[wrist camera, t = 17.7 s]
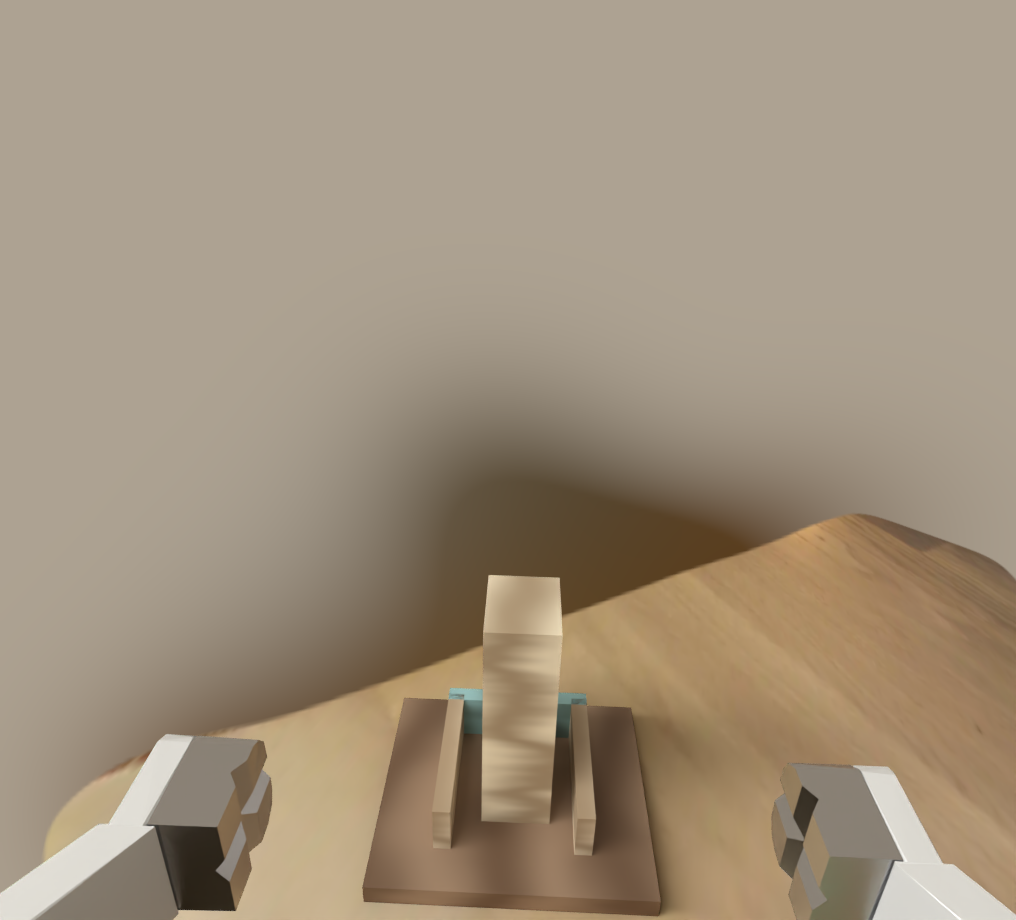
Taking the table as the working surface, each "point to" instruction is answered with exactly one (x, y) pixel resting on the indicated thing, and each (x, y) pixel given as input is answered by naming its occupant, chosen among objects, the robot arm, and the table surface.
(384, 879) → the dock
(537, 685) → the tan tall rectangular block
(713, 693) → the table surface
